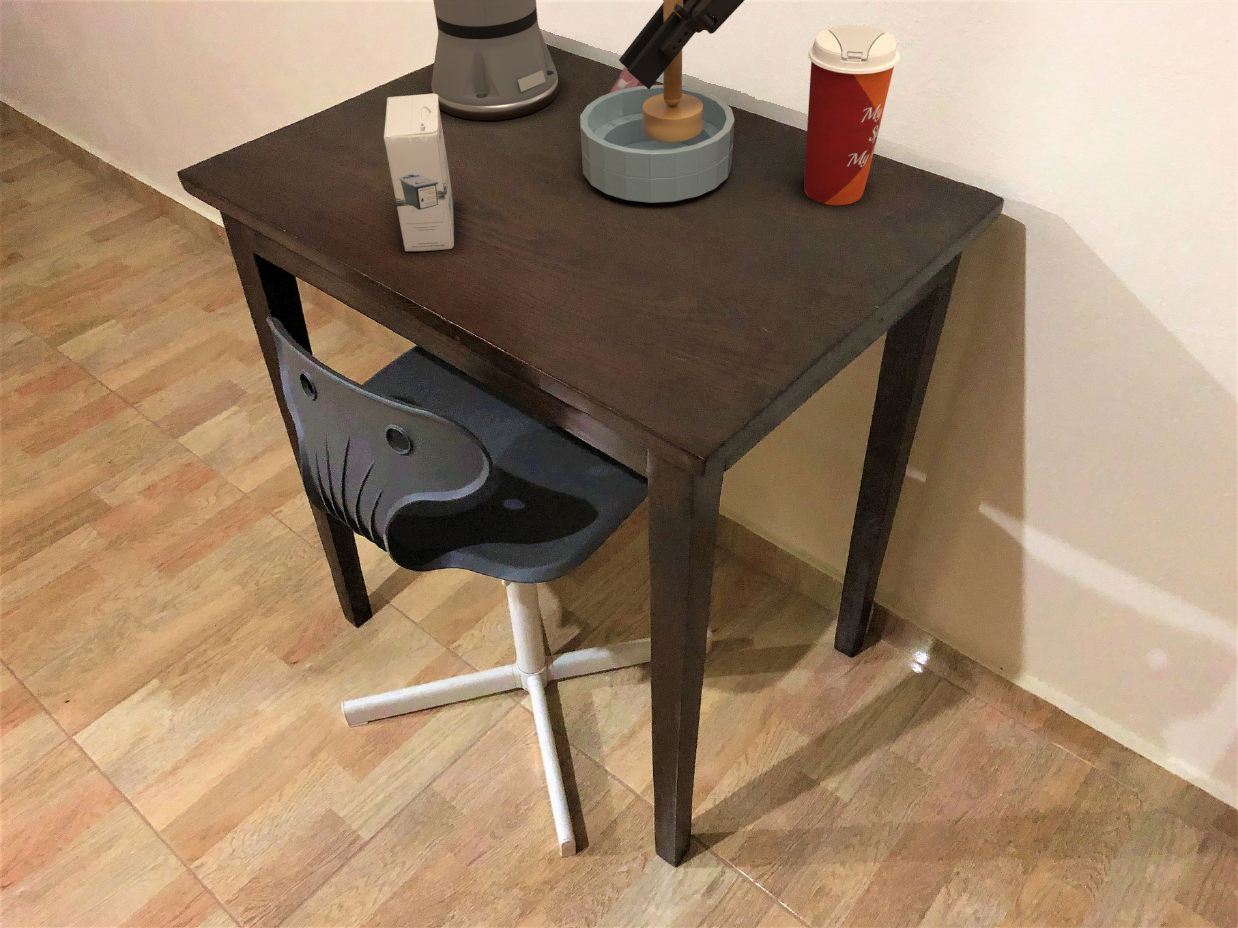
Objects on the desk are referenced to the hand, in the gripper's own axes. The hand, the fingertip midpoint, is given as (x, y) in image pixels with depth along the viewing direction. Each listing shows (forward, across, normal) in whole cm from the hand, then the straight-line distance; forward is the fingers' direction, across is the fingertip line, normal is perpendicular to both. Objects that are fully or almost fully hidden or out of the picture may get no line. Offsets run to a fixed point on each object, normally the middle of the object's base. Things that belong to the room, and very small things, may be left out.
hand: (634, 74), depth 88 cm
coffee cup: (-5, -8, -22) cm, 23 cm away
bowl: (+6, +2, -10) cm, 12 cm away
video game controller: (+5, +16, -11) cm, 21 cm away
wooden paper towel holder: (+1, 0, -7) cm, 7 cm away
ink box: (+24, 0, +7) cm, 25 cm away
